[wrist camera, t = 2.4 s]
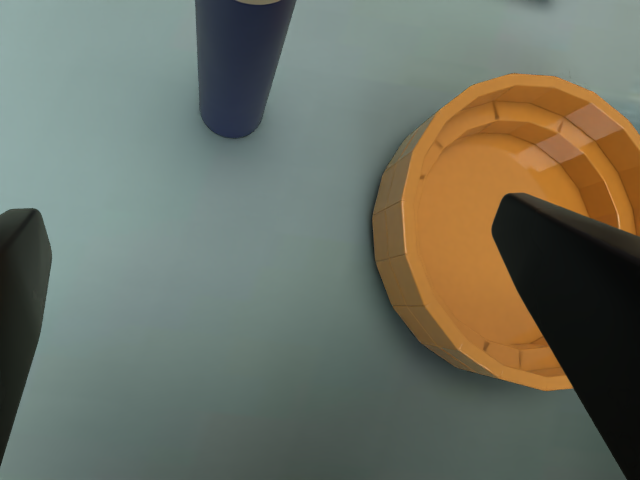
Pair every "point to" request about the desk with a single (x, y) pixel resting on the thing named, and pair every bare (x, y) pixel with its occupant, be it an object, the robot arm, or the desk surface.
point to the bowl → (480, 209)
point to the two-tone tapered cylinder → (238, 60)
